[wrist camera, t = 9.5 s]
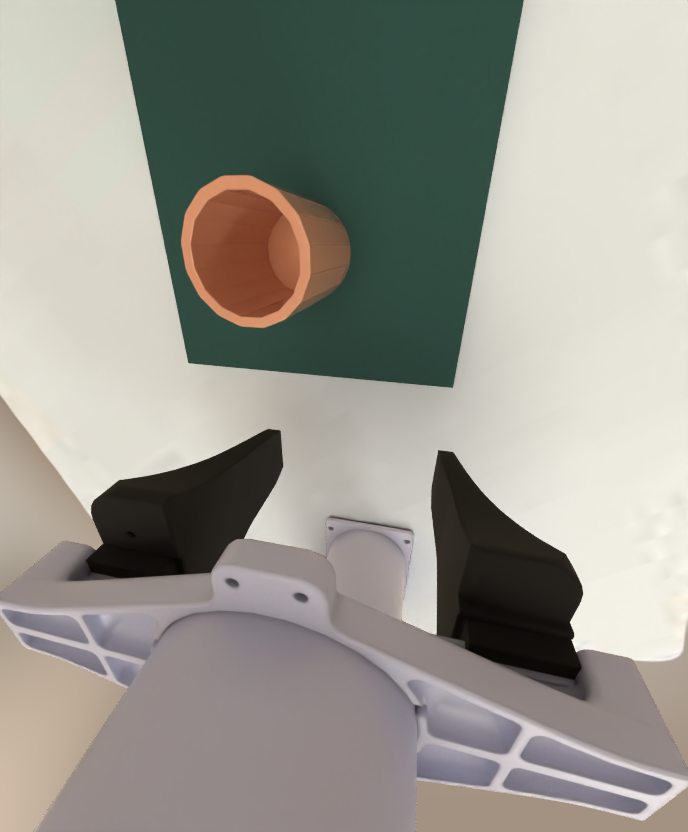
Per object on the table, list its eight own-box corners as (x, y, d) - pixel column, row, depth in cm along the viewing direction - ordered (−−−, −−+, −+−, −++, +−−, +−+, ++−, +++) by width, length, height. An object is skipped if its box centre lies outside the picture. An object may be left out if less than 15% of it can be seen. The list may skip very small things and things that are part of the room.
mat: (452, 384, 23) (452, 387, 23) (192, 360, 27) (188, 363, 26) (532, -58, 14) (536, -69, 14) (120, -8, 18) (111, -16, 17)
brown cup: (349, 301, 22) (311, 331, 14) (269, 297, 23) (194, 323, 15) (352, 200, 19) (308, 174, 12) (261, 200, 20) (168, 175, 13)
